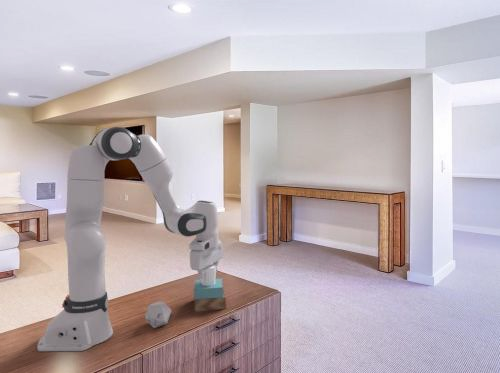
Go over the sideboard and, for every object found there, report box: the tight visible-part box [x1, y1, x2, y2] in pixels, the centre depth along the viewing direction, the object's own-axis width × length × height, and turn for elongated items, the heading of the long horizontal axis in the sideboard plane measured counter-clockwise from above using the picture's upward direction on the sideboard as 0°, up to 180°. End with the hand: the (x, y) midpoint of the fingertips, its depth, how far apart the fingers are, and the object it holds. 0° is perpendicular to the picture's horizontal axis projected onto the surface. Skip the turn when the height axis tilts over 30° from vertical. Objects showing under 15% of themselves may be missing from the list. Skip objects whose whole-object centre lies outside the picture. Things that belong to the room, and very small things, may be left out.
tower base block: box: [193, 289, 227, 312], centre depth 146 cm, size 12×12×5 cm
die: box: [144, 300, 172, 329], centre depth 129 cm, size 8×9×10 cm
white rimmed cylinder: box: [200, 263, 217, 286], centre depth 145 cm, size 7×7×7 cm
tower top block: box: [193, 278, 224, 299], centre depth 145 cm, size 11×11×4 cm
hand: (208, 274), depth 145 cm, fingers open, 8 cm apart
